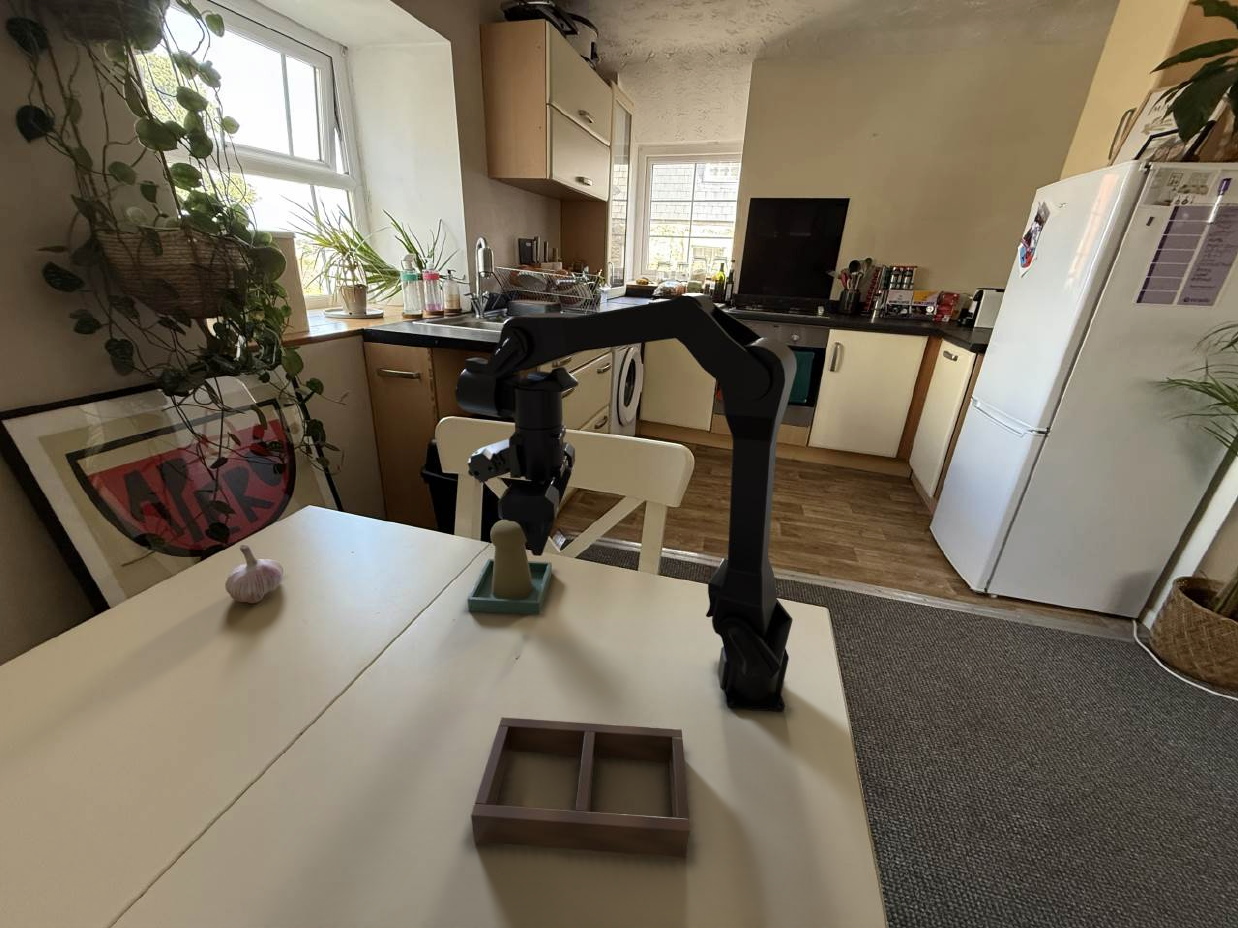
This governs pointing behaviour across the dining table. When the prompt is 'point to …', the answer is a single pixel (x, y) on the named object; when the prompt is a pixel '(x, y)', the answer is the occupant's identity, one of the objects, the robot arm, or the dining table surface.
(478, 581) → the tray
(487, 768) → the divided wooden box
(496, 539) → the tan pawn
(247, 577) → the garlic bulb
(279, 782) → the dining table surface
